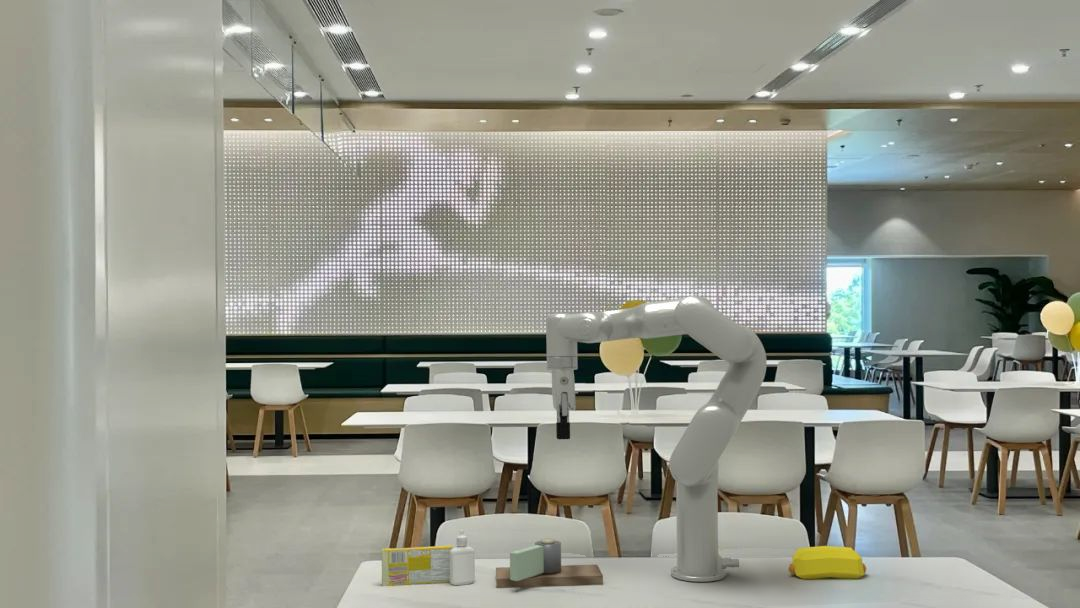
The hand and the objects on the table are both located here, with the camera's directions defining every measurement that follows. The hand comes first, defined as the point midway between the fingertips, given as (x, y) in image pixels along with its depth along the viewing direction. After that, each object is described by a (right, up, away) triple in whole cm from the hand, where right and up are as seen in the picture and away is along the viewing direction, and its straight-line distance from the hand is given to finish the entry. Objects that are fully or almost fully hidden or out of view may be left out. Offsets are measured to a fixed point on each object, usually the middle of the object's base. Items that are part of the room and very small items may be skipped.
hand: (563, 438), depth 233 cm
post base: (-4, -31, -13) cm, 34 cm away
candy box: (-34, -32, -14) cm, 48 cm away
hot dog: (+61, -30, -12) cm, 69 cm away
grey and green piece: (-7, -28, -16) cm, 34 cm away
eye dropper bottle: (-24, -31, -14) cm, 42 cm away
